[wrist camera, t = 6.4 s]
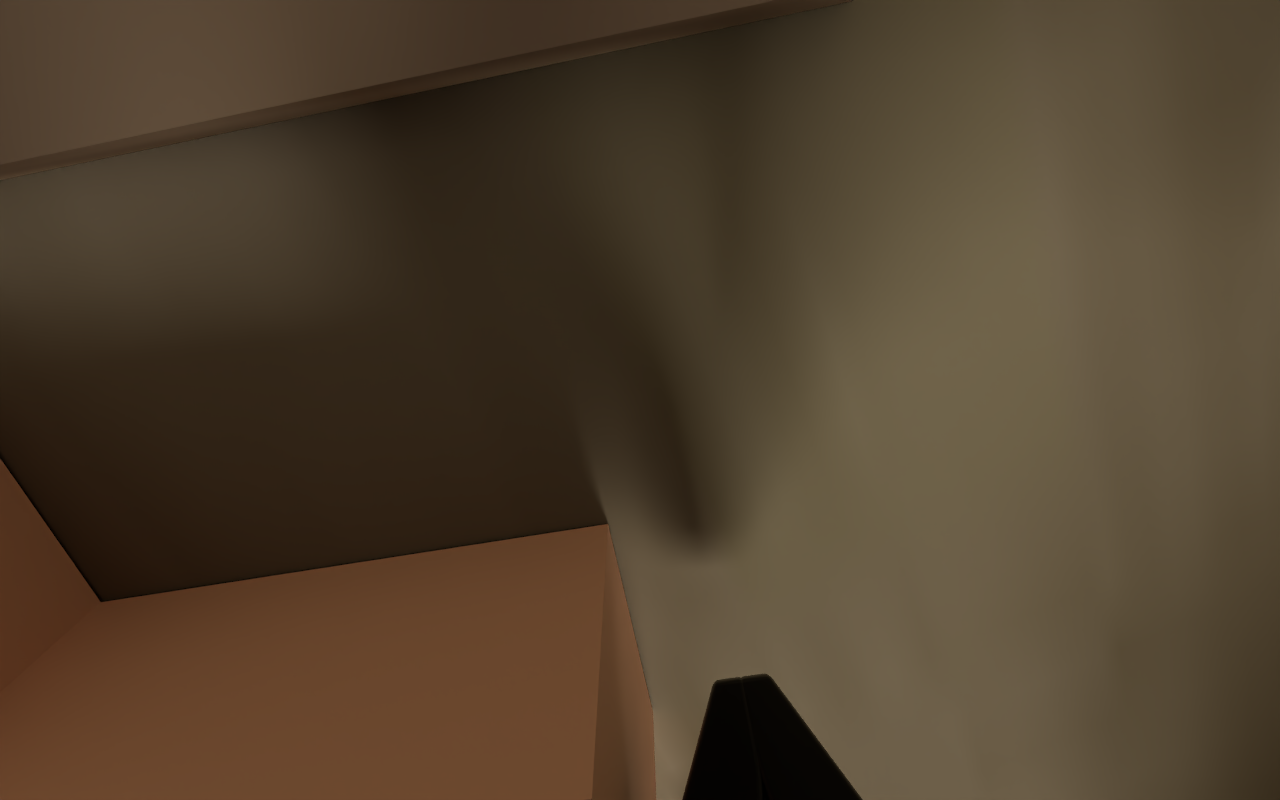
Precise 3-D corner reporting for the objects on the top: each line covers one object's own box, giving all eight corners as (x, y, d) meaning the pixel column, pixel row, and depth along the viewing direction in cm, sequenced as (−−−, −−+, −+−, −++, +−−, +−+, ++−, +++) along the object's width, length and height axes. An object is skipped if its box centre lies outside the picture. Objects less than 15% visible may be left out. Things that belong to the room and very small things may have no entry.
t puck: (543, 252, 7) (453, 376, 4) (685, 849, 12) (709, 1160, 8) (-344, 414, 8) (-1162, 655, 4) (126, 917, 13) (-75, 1231, 9)
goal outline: (845, -144, 6) (896, -208, 5) (882, 917, 13) (905, 988, 12) (-680, 198, 7) (-931, 211, 6) (147, 1002, 14) (107, 1074, 13)
